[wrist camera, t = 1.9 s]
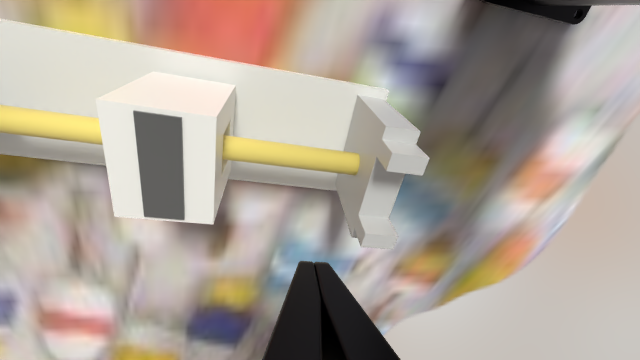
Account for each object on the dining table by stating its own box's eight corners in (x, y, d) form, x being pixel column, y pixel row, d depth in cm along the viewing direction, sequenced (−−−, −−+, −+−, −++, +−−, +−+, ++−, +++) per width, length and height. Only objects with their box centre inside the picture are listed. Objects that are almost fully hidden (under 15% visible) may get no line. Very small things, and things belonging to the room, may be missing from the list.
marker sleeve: (235, 85, 16) (215, 117, 11) (231, 169, 18) (212, 225, 13) (153, 71, 15) (93, 99, 10) (159, 160, 17) (113, 217, 13)
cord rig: (386, 88, 18) (444, 132, 11) (357, 188, 21) (390, 266, 15) (-148, -9, 13) (-561, -27, 7) (-79, 140, 16) (-311, 223, 10)
